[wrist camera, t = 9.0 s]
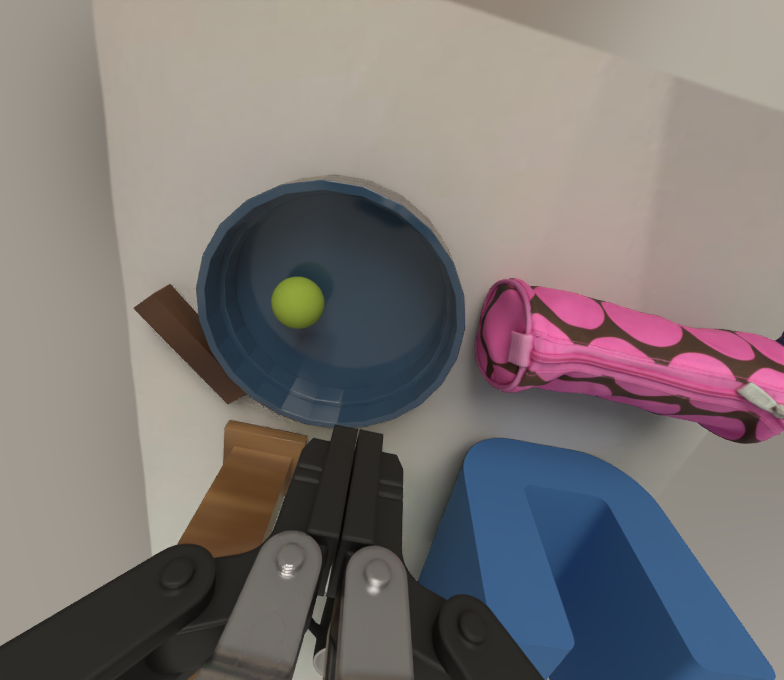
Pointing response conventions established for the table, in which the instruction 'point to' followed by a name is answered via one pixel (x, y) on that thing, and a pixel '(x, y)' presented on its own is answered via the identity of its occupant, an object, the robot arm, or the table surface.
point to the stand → (245, 490)
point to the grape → (297, 302)
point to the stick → (187, 338)
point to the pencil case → (631, 360)
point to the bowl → (333, 302)
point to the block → (584, 570)
